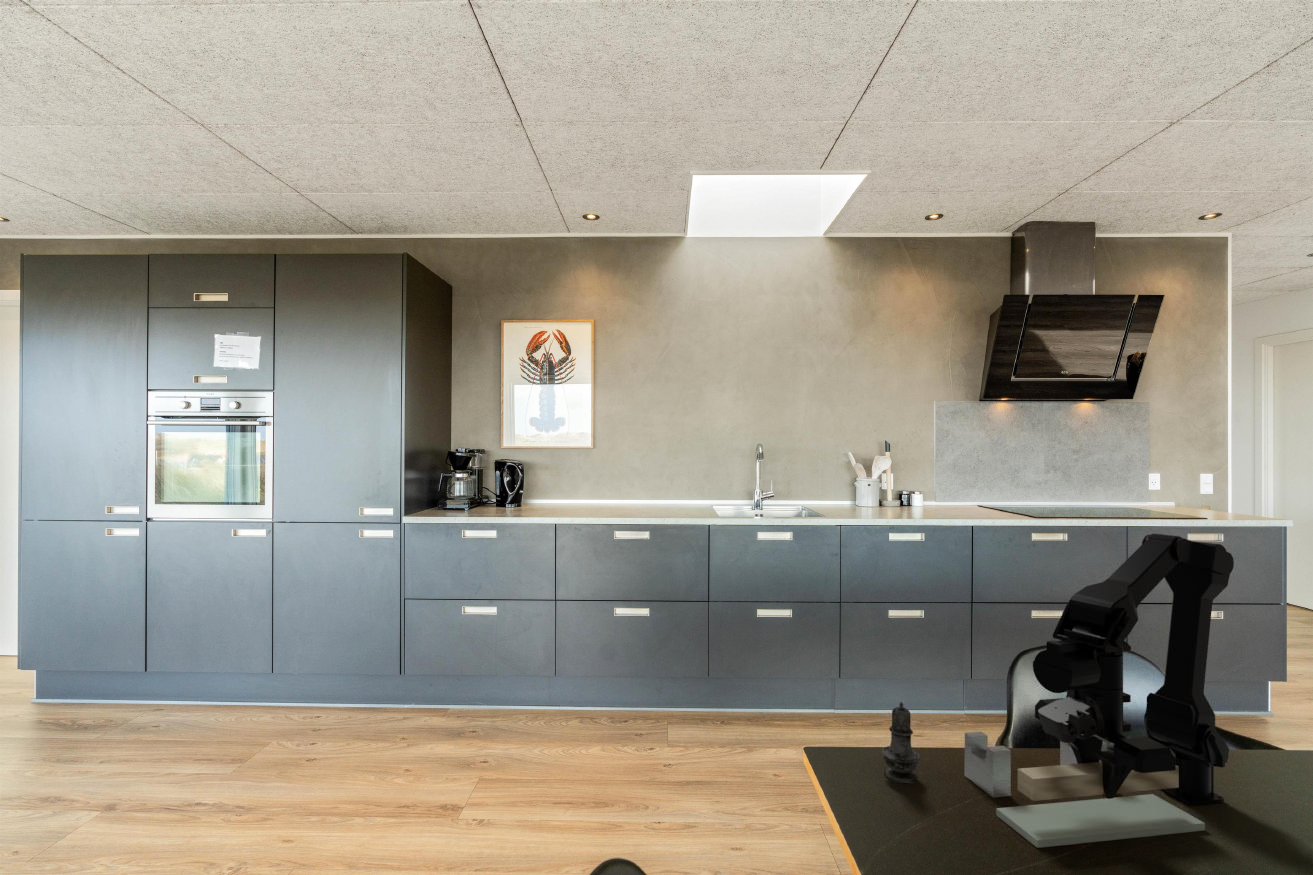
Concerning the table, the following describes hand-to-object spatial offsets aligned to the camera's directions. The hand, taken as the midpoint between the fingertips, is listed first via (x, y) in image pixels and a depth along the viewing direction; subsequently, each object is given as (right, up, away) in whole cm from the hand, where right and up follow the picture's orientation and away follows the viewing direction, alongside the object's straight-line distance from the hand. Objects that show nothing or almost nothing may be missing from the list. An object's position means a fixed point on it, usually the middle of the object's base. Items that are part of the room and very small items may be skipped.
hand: (1099, 791), depth 94 cm
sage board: (0, -4, 0) cm, 4 cm away
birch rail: (0, 0, 0) cm, 1 cm away
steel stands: (-2, -5, +12) cm, 13 cm away
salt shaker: (-24, -5, +13) cm, 27 cm away
